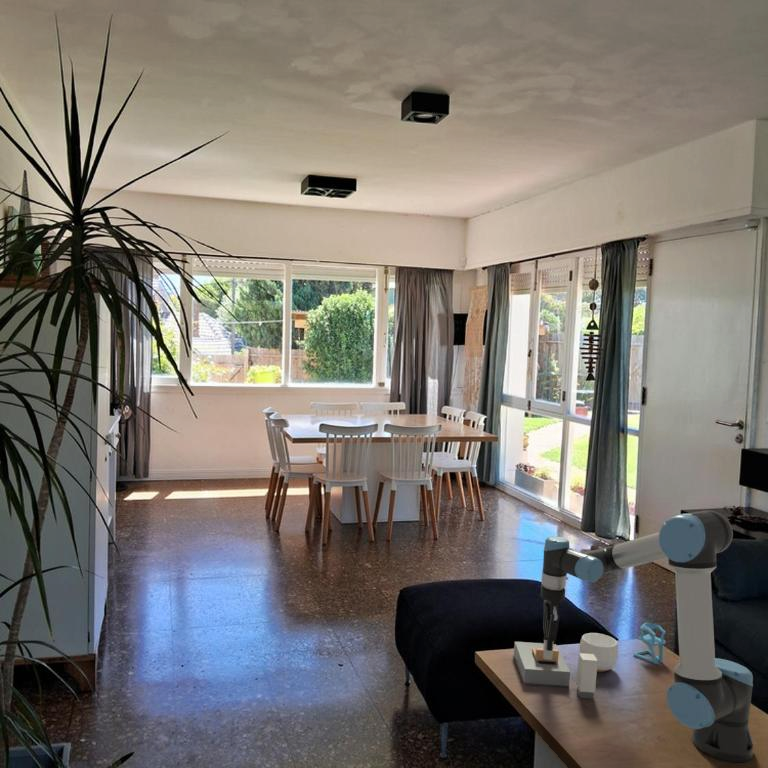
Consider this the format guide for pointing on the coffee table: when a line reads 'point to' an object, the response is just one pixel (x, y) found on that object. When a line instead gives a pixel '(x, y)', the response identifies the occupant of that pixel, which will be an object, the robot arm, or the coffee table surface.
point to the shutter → (539, 654)
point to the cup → (600, 649)
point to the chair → (651, 643)
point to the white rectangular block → (586, 675)
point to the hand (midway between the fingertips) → (547, 658)
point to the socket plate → (540, 667)
